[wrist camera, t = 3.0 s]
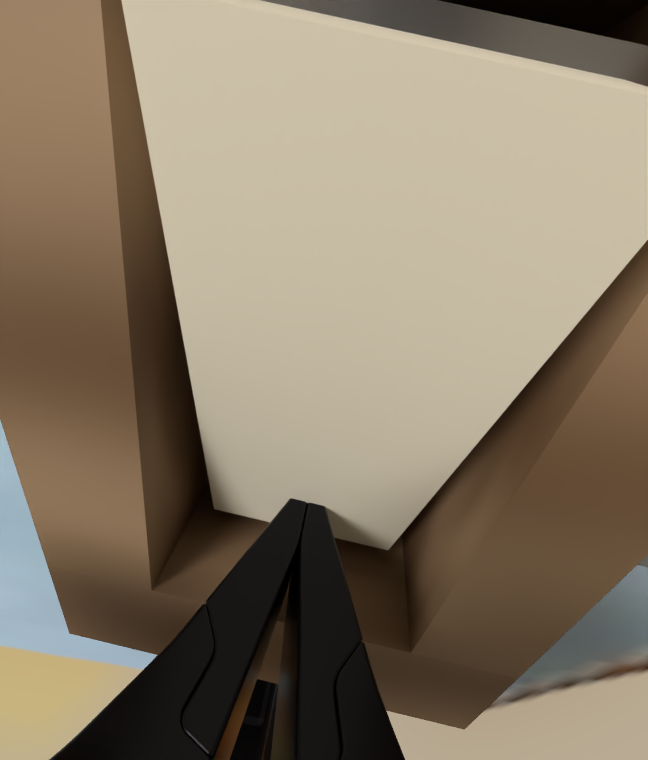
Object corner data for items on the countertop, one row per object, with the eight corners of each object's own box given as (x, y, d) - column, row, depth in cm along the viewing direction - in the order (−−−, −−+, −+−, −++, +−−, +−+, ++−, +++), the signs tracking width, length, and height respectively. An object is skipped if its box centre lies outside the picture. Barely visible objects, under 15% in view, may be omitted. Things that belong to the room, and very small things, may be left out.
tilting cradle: (397, 486, 12) (397, 503, 11) (231, 447, 12) (224, 462, 11) (641, 52, 5) (668, 50, 4) (220, -41, 5) (201, -52, 4)
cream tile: (391, 471, 12) (388, 550, 10) (243, 436, 12) (214, 508, 10) (618, 77, 4) (750, 118, 3) (230, -6, 5) (117, -22, 3)
